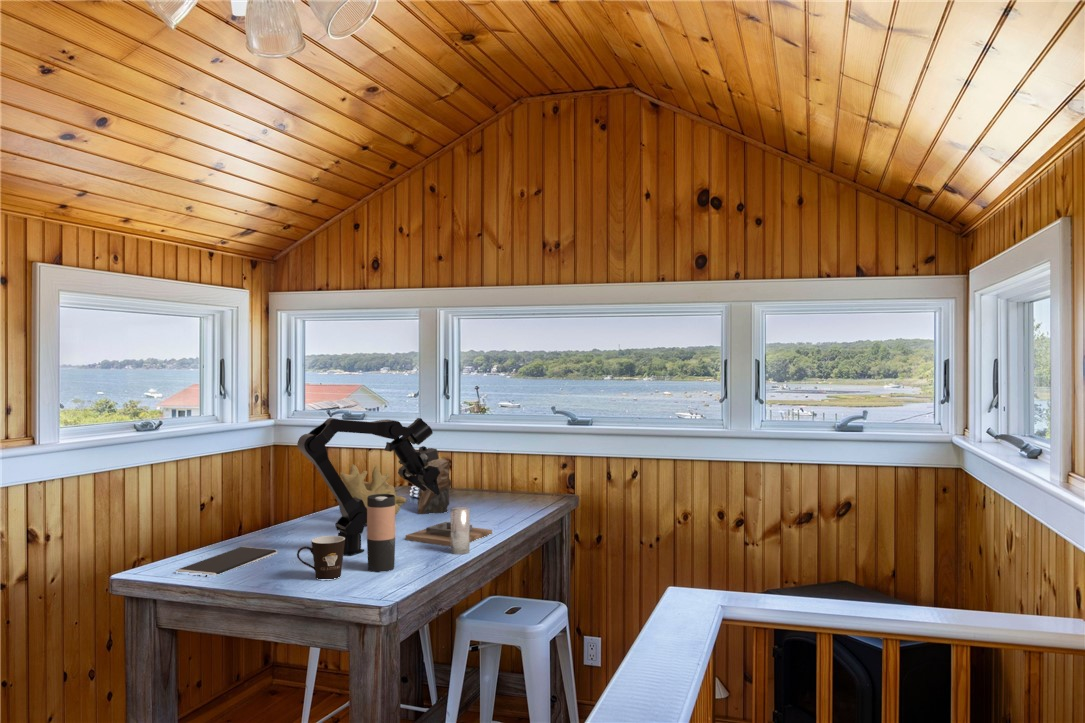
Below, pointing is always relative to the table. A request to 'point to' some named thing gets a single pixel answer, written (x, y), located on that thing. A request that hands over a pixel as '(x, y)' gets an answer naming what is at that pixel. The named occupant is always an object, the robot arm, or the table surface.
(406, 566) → the table surface
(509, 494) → the table surface
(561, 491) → the table surface
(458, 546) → the steel cup
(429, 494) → the brown carved rock
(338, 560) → the coffee mug
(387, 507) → the travel mug
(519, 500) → the table surface
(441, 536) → the brown flat square board
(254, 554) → the dark rectangular slab
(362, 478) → the decorative coral
